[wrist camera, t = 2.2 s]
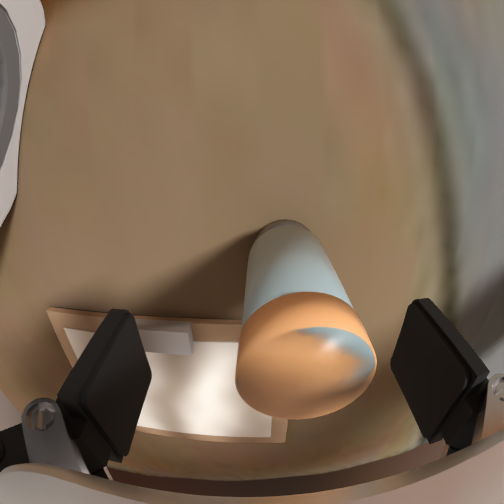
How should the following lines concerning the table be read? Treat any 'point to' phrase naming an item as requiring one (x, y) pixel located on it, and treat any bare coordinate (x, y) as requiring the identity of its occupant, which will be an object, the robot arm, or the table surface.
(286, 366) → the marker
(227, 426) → the clipboard
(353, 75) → the table surface
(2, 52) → the alarm clock
